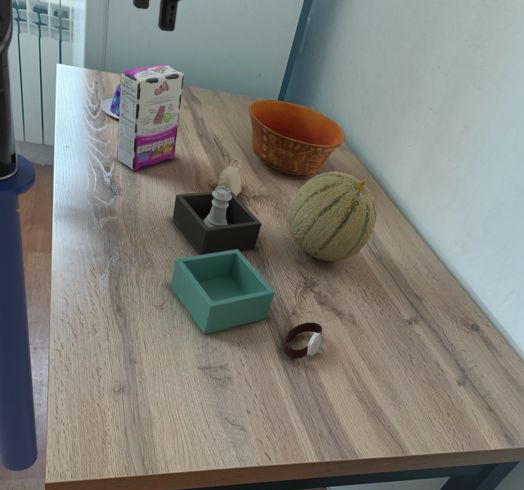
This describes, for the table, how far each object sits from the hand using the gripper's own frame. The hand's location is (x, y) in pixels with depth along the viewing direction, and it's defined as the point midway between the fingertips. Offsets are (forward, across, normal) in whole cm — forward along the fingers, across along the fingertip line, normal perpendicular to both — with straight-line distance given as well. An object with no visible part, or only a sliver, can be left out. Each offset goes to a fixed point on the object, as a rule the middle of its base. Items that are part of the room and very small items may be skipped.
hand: (153, 18), depth 76 cm
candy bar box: (+28, -12, +7) cm, 32 cm away
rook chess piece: (+28, +14, +8) cm, 32 cm away
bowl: (+28, -7, +38) cm, 48 cm away
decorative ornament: (+28, +2, +18) cm, 34 cm away
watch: (+28, +42, +7) cm, 51 cm away
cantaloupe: (+28, +23, +25) cm, 44 cm away
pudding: (+28, -32, +12) cm, 44 cm away
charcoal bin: (+28, +14, +8) cm, 32 cm away
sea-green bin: (+28, +30, 0) cm, 41 cm away
